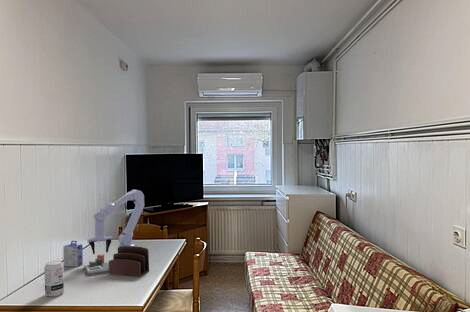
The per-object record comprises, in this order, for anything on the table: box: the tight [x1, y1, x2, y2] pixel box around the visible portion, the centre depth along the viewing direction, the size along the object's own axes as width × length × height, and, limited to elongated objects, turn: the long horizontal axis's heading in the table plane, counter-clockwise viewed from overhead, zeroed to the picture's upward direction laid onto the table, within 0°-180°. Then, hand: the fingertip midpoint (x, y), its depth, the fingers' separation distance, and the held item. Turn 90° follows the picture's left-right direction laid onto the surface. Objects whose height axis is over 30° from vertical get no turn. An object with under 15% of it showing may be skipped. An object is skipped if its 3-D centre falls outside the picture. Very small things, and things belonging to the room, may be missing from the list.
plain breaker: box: [94, 258, 102, 265], centre depth 230 cm, size 3×4×3 cm
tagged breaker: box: [88, 260, 96, 267], centre depth 225 cm, size 3×4×3 cm
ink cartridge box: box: [62, 240, 84, 268], centre depth 234 cm, size 10×6×14 cm, turn 78°
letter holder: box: [108, 245, 150, 277], centre depth 218 cm, size 10×20×14 cm, turn 74°
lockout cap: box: [96, 254, 105, 263], centre depth 238 cm, size 4×4×5 cm
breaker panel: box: [83, 262, 109, 277], centre depth 224 cm, size 13×17×2 cm
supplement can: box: [43, 260, 65, 297], centre depth 186 cm, size 8×8×15 cm
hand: (100, 253), depth 238 cm, fingers open, 7 cm apart
